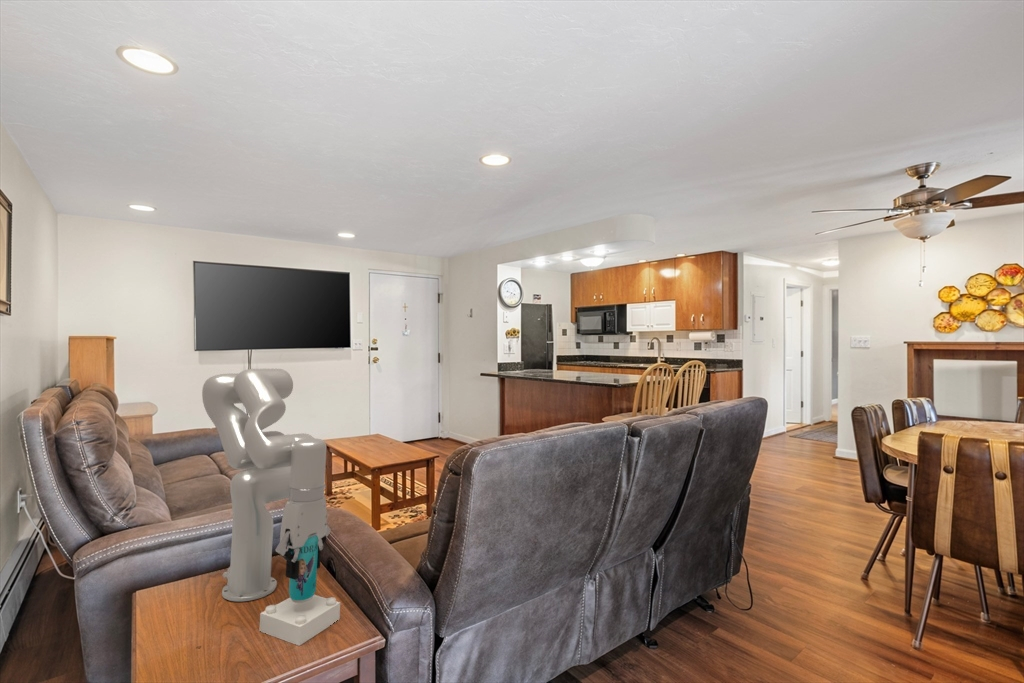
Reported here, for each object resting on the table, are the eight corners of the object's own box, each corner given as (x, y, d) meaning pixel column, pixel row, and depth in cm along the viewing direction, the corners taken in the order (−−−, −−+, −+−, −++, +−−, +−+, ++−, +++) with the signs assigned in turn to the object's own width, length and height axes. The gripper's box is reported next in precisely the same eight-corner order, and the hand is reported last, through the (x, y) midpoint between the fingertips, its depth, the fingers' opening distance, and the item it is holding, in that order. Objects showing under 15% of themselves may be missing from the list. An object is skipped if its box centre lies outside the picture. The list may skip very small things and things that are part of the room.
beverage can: (288, 606, 112) (291, 538, 112) (288, 594, 117) (291, 529, 118) (316, 602, 114) (319, 535, 115) (315, 590, 120) (318, 527, 120)
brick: (259, 631, 113) (260, 608, 113) (301, 607, 124) (302, 586, 124) (299, 645, 108) (300, 622, 108) (339, 619, 119) (340, 598, 119)
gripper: (322, 482, 126) (319, 556, 125) (263, 500, 110) (259, 583, 110) (345, 487, 123) (342, 562, 122) (288, 505, 107) (284, 591, 107)
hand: (303, 571), depth 116 cm, fingers closed on beverage can, 5 cm apart
